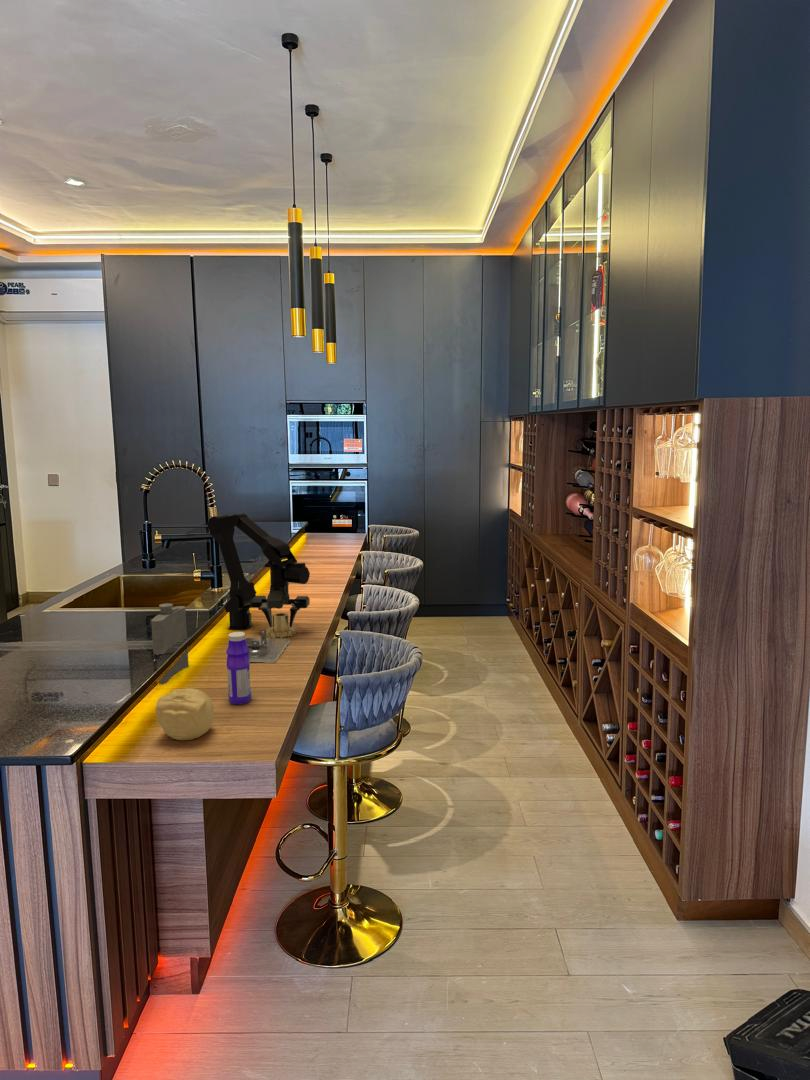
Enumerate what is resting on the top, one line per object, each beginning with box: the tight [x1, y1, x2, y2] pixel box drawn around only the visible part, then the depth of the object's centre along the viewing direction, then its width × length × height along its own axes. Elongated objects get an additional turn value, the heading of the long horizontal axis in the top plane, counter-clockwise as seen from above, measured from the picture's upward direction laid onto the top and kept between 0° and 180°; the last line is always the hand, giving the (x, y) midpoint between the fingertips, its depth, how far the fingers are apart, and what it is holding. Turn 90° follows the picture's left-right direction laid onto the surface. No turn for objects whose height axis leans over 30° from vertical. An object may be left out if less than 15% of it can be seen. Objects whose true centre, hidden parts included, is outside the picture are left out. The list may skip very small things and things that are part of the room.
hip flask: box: [150, 603, 190, 685], centre depth 195 cm, size 16×4×20 cm, turn 172°
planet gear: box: [264, 612, 298, 639], centre depth 234 cm, size 10×10×6 cm
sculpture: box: [154, 687, 215, 741], centre depth 158 cm, size 12×12×11 cm
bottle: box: [225, 631, 252, 705], centre depth 176 cm, size 7×6×17 cm
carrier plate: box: [245, 630, 291, 664], centre depth 215 cm, size 14×20×5 cm
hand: (281, 627), depth 234 cm, fingers open, 6 cm apart
